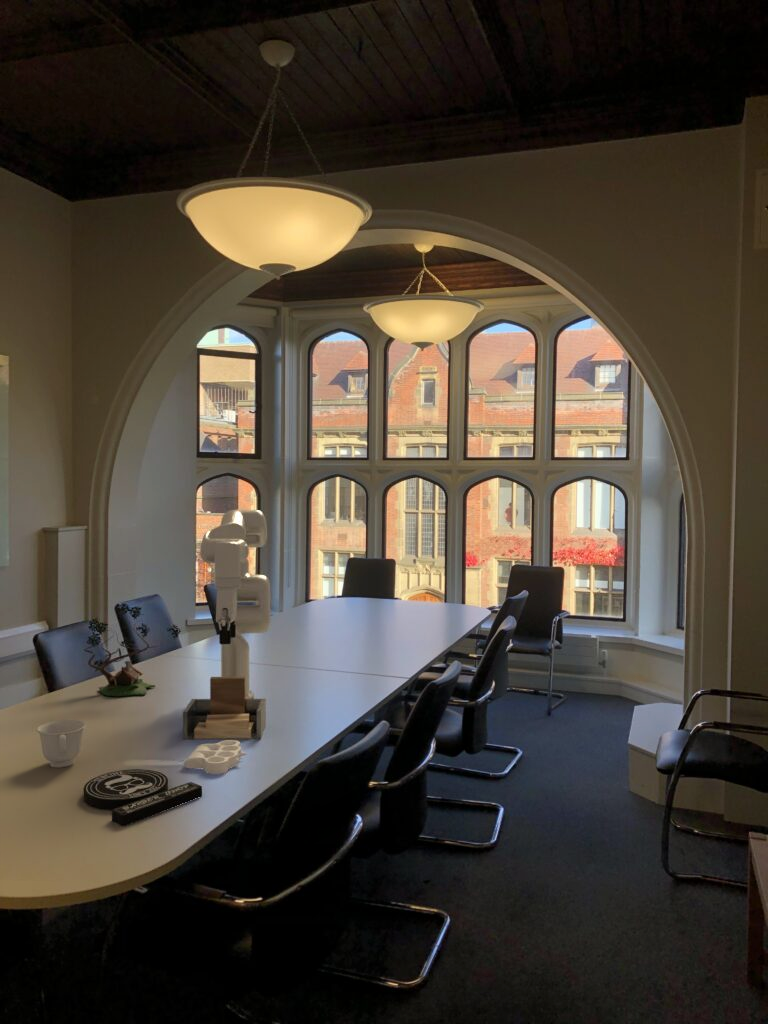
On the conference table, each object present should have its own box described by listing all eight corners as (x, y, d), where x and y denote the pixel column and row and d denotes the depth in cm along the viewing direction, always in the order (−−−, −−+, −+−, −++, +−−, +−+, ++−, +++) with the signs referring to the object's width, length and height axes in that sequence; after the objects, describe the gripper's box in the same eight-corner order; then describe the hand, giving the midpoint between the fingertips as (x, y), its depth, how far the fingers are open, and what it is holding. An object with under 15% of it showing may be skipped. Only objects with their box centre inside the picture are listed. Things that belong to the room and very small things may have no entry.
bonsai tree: (68, 703, 268) (67, 608, 267) (94, 684, 293) (93, 597, 291) (174, 704, 269) (174, 609, 267) (191, 685, 293) (191, 598, 292)
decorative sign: (203, 798, 192) (141, 773, 208) (203, 786, 192) (141, 762, 208) (123, 828, 176) (63, 798, 191) (122, 815, 176) (62, 787, 191)
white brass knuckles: (199, 750, 225) (251, 752, 224) (180, 775, 207) (236, 776, 206) (199, 739, 225) (252, 740, 224) (180, 762, 207) (236, 763, 206)
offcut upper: (207, 723, 236) (207, 715, 236) (249, 721, 238) (249, 713, 238) (205, 730, 230) (205, 721, 230) (248, 728, 232) (248, 720, 232)
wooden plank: (211, 726, 241) (211, 676, 241) (245, 726, 242) (245, 676, 241) (210, 728, 239) (210, 678, 239) (244, 728, 240) (244, 678, 239)
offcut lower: (198, 730, 238) (198, 722, 237) (253, 730, 238) (253, 721, 238) (194, 738, 231) (194, 729, 230) (250, 738, 231) (250, 729, 231)
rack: (192, 729, 242) (191, 699, 242) (265, 728, 243) (265, 698, 243) (183, 743, 229) (182, 711, 229) (261, 743, 230) (261, 711, 230)
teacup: (37, 778, 203) (36, 739, 202) (36, 759, 216) (36, 722, 216) (88, 772, 207) (88, 733, 207) (84, 753, 221) (84, 717, 221)
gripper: (219, 579, 247) (219, 635, 248) (209, 586, 230) (209, 646, 230) (244, 579, 247) (244, 635, 248) (236, 586, 230) (236, 646, 231)
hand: (227, 640), depth 239 cm, fingers open, 9 cm apart
